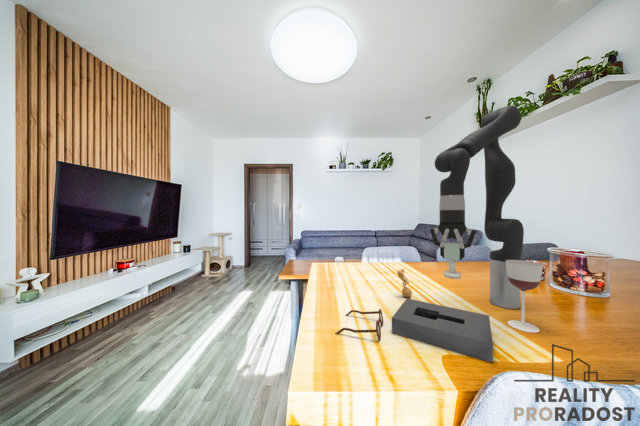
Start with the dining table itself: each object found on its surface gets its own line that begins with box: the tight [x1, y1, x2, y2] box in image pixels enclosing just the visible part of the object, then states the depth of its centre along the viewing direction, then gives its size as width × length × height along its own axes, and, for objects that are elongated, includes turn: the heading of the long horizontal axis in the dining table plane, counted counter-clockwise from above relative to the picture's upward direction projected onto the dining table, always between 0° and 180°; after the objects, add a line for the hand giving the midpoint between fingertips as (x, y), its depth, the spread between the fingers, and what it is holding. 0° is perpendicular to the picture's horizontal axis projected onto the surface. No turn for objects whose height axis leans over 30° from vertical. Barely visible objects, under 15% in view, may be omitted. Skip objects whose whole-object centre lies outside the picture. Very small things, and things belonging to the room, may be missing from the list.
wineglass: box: [506, 259, 543, 333], centre depth 71 cm, size 8×9×20 cm
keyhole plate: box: [391, 298, 494, 364], centre depth 68 cm, size 24×18×4 cm
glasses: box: [334, 308, 384, 341], centre depth 71 cm, size 13×13×5 cm
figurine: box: [396, 268, 413, 298], centre depth 95 cm, size 8×6×12 cm
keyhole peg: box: [443, 241, 462, 280], centre depth 77 cm, size 5×5×12 cm
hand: (452, 258), depth 77 cm, fingers closed on keyhole peg, 4 cm apart
